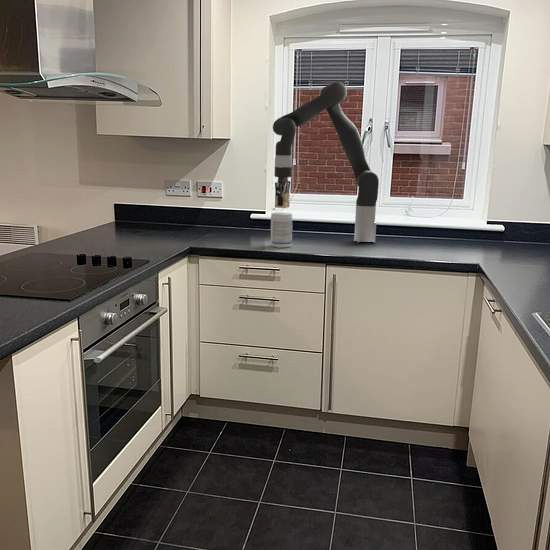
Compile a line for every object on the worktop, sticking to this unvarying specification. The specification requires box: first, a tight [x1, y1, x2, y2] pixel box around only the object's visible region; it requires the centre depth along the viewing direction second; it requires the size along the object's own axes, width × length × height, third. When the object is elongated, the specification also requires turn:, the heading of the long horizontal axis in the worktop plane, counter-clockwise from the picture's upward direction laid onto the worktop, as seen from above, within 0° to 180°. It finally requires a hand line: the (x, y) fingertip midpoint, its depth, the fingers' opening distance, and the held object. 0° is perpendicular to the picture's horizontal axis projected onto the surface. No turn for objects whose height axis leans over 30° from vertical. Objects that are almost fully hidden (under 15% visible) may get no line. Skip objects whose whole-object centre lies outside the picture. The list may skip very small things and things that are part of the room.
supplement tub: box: [270, 212, 293, 249], centre depth 259 cm, size 10×10×15 cm
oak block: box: [274, 192, 291, 209], centre depth 257 cm, size 5×5×6 cm
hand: (282, 205), depth 257 cm, fingers closed on oak block, 5 cm apart
